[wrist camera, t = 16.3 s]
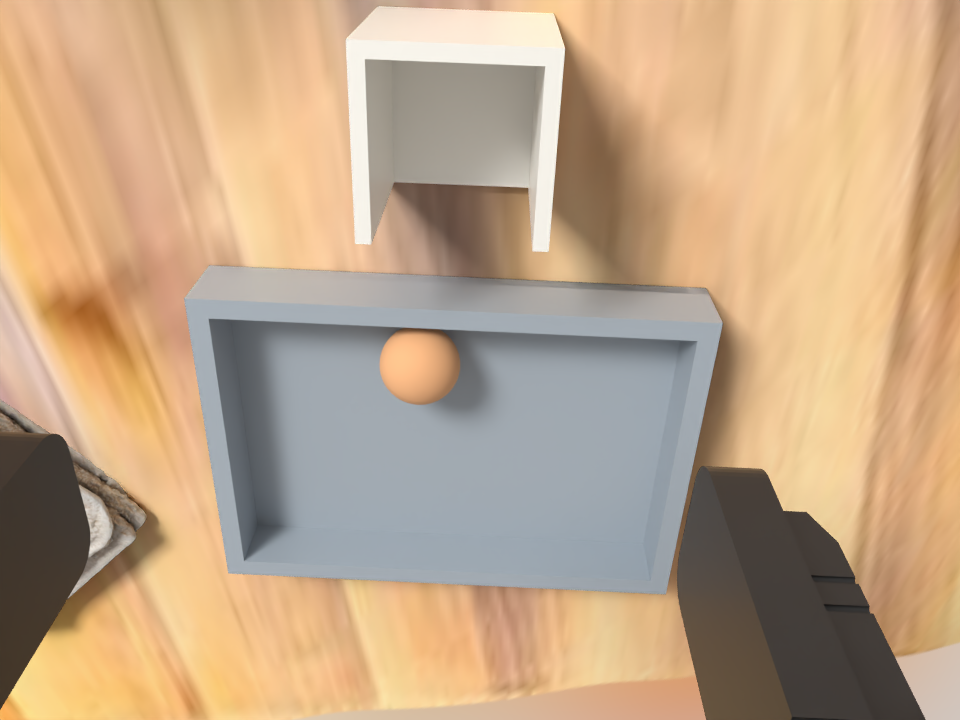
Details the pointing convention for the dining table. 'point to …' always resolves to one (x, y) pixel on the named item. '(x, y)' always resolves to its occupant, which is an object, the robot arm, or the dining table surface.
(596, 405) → the tray
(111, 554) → the washcloth
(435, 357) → the ball
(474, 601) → the dining table surface
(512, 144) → the white cube stool
